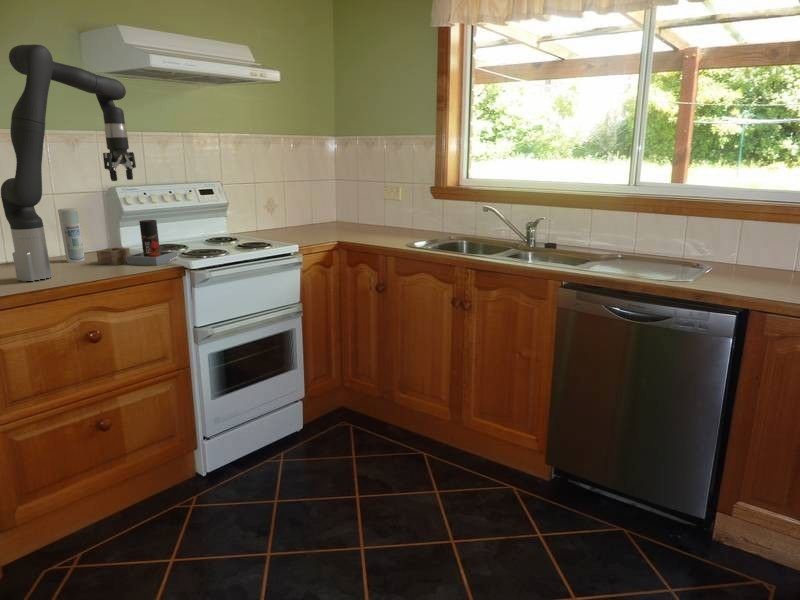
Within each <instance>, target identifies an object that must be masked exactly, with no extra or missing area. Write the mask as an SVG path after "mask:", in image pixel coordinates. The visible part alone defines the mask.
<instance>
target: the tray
mask: <svg viewBox="0 0 800 600" xmlns="http://www.w3.org/2000/svg"><path fill="white" fill-rule="evenodd" d="M160 255H161V256H158V257H144V254H143V251H142V252H138V253H135V254H130V256H127V262H126V263H127V265H137V266H155V267H156V266H161V265H163V264H167V263H170V262H171V261H170V259H172V258H174V257H176V256H177V257H178V251H173V250H172V251H170V250H167V251H166V250H160ZM169 261H170V262H169Z"/></svg>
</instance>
